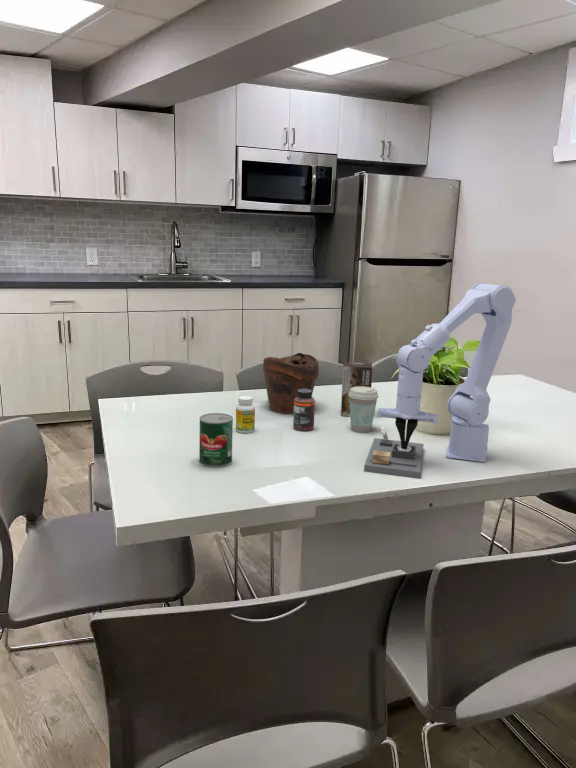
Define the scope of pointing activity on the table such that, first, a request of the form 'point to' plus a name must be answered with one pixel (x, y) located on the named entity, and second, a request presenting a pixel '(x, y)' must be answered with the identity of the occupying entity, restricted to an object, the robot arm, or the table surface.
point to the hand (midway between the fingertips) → (404, 447)
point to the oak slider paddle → (381, 457)
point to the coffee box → (354, 381)
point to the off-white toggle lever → (384, 433)
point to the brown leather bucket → (288, 379)
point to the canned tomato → (215, 439)
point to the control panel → (396, 459)
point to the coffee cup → (362, 408)
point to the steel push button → (404, 449)
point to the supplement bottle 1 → (245, 415)
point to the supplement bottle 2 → (304, 410)
